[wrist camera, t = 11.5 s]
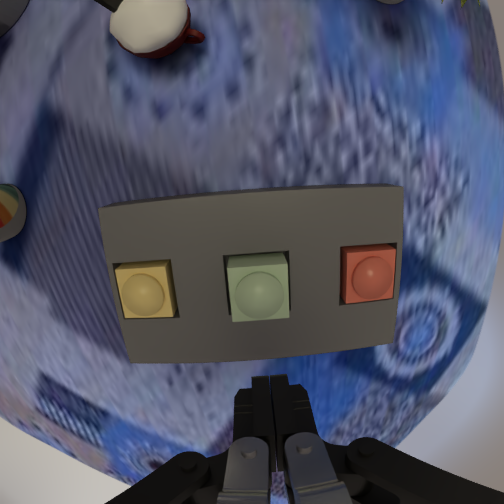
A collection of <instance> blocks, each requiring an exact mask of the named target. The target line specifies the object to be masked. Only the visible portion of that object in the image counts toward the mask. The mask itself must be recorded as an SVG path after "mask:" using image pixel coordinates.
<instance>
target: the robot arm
mask: <svg viewBox="0 0 504 504" xmlns="http://www.w3.org/2000/svg"><path fill="white" fill-rule="evenodd" d="M28 1H29V0H0V36H2V35H3V34H4V33H6V32H7V31H8V30H9V29H10V28H11V27H12V25H13V24H14V23H15V22H16V21H17V20H18V18H19V17H20V15H21V14H22V12H23V11H24V9H25V7H26V6H27V3H28ZM270 392H271V394H270ZM275 449H276V452H275ZM276 459H277V468H278V471H284V486H285V492H286V496H287V500H288V504H504V493H503V492H500V491H497V490H494V489H492V488H489V487H486V486H483V485H480V484H478V483H475V482H472V481H469V480H467V479H464V478H462V477H459V476H457V475H454V474H452V473H449V472H447V471H444V470H442V469H440V468H437V467H435V466H433V465H430V464H428V463H426V462H423V461H421V460H419V459H416V458H415V457H412V456H410V455H408V454H406V453H404V452H402V451H399V450H397V449H395V448H393V447H391V446H389V445H387V444H385V443H383V442H381V441H379V440H377V439H374V438H369V437H363V438H358V439H356V440H354V441H352V442H351V443H350V444H349V445H348V446H343V445H333V444H330V443H327V442H325V441H324V440H323V439H321V438H320V436H319V435H318V432H317V429H316V425H315V421H314V417H313V413H312V409H311V405H310V401H309V397H308V393H307V391H306V390H305V389H304V388H303V387H302V386H301V385H300V384H297V385H289V382H288V377H287V374H280V375H270V385H269V376H254V377H252V388H247V389H239V391H238V392H237V394H236V395H235V398H234V427H233V442H232V444H231V446H230V447H229V449H228V450H226V451H225V452H223V453H221V454H219V455H216V456H212V457H208V458H206V457H205V456H203V455H202V454H200V453H197V452H191V451H189V452H182V453H180V454H177V455H176V456H174V457H173V458H172V459H170V460H169V461H167V462H166V463H165V464H163V465H162V466H161V467H159V468H158V469H156V470H155V471H153V472H152V473H151V474H149V475H148V476H146V477H145V478H143V479H142V480H140V481H139V482H137V483H136V484H134V485H133V486H131V487H130V488H129V489H127V490H125V491H124V492H122V493H121V494H119V495H118V496H116V497H114V498H113V499H111V500H110V501H108V502H107V503H105V504H270V498H271V485H272V472H276Z"/></svg>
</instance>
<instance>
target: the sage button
mask: <svg viewBox="0 0 504 504" xmlns="http://www.w3.org/2000/svg"><path fill="white" fill-rule="evenodd" d="M227 272H228V282H229V292H230V302H231V312H232V321H233V322H241V321H255V320H268V319H280V318H289V290H288V264H287V261H286V259H285V257H284V254H283V252H281V253H267V254H254V255H240V256H229V259H228V266H227Z"/></svg>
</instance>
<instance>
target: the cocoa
mask: <svg viewBox="0 0 504 504" xmlns="http://www.w3.org/2000/svg"><path fill="white" fill-rule="evenodd" d="M94 1H96V2H98V3H99V4H101V5H102V6H104V7H105V8H107V9H109V10H110V11H112V14H111V18H110V32H111V33H112V34H113V35H114V37H115V38H116V39H117V41H118V43H119V45H120V47H122V48H123V49H125V50H126V51H128V52H130V53H132V54H133V55H135V56H137V57H140V58H156V59H158V58H161V57H164V56H166V55H169V54H172V53H173V52H174V51H175V50H177V49H178V48H179V47H180V46H182V45H183V43H186V44H198V43H202V42H203V41H204V39H205V36H204V34H202V33H201V32H199V31H197V30H194V29H190V17H191V13H190V9H189V7H188V5H187V3H186V0H94ZM188 35H190V36H194V37H188Z"/></svg>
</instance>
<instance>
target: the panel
mask: <svg viewBox="0 0 504 504" xmlns="http://www.w3.org/2000/svg"><path fill="white" fill-rule="evenodd" d="M98 212H99V219H100V226H101V233H102V239H103V245H104V251H105V257H106V262H107V268H108V273H109V278H110V283H111V287H112V292H113V297H114V301H115V306H116V310H117V314H118V318H119V322H120V326H121V330H122V334H123V338H124V342H125V345H126V349H127V353H128V356H129V360H130V363H209V362H230V361H247V360H261V359H273V358H284V357H294V356H304V355H313V354H321V353H329V352H337V351H344V350H351V349H358V348H364V347H371V346H377V345H383V344H388V343H393V338H394V331H395V323H396V315H397V306H398V297H399V286H400V274H401V260H402V241H403V187H402V186H397V185H391V184H340V185H313V186H292V187H274V188H259V189H244V190H231V191H219V192H208V193H197V194H187V195H177V196H167V197H158V198H149V199H141V200H133V201H125V202H117V203H112V204H109V205H107V206H104V207H101V208H98ZM381 243H386V244H388V245H390V246H391V247H393V248H395V249H396V255H395V272H394V285H393V297H392V298H388V299H380V300H372V301H364V302H356V303H347V304H346V303H345V302H344V300H343V299H342V297H341V296H340V295H339V293H340V247H341V246H354V245H368V244H381ZM281 252H283V254H284V257H285V259H286V261H287V264H288V290H289V318H280V319H268V320H255V321H241V322H233V321H232V312H231V302H230V292H229V282H228V272H227V266H228V259H229V256H240V255H254V254H267V253H281ZM164 259H171V264H172V271H173V278H174V284H175V291H176V297H177V303H178V307H177V309H176V311H175V314H174V316H173V317H150V318H125V315H124V311H123V306H122V302H121V297H120V293H119V288H118V283H117V278H116V273H115V269H117V268H118V267H119V266H120V265H121V264H122V263H123V262H137V261H151V260H164Z"/></svg>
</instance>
